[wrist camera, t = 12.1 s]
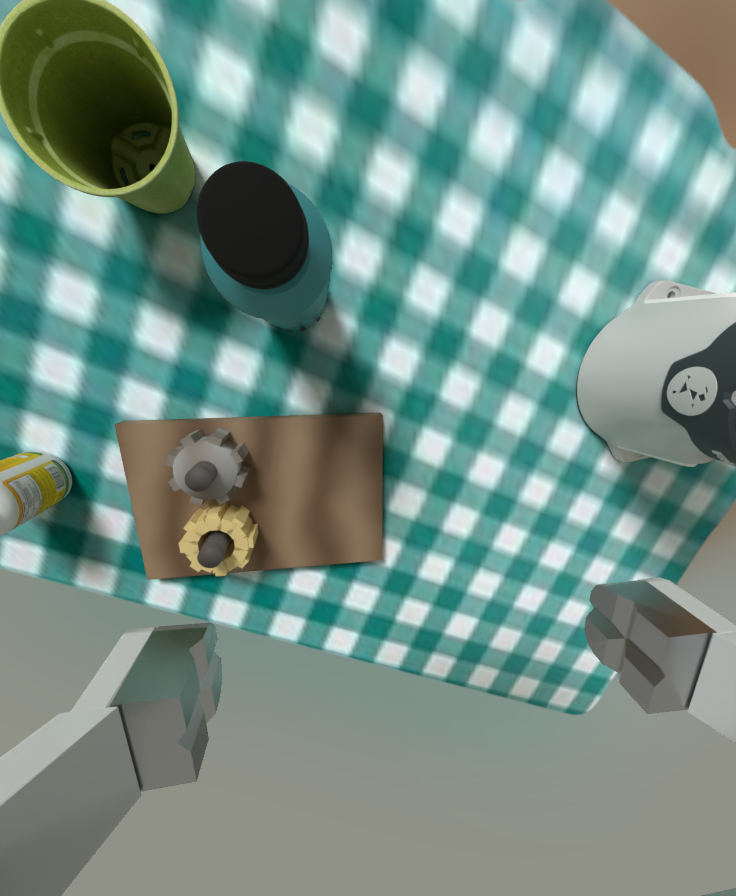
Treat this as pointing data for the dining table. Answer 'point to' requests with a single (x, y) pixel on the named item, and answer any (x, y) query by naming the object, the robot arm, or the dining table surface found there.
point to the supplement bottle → (30, 486)
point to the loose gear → (225, 521)
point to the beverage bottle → (264, 245)
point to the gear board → (257, 487)
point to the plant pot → (93, 102)
